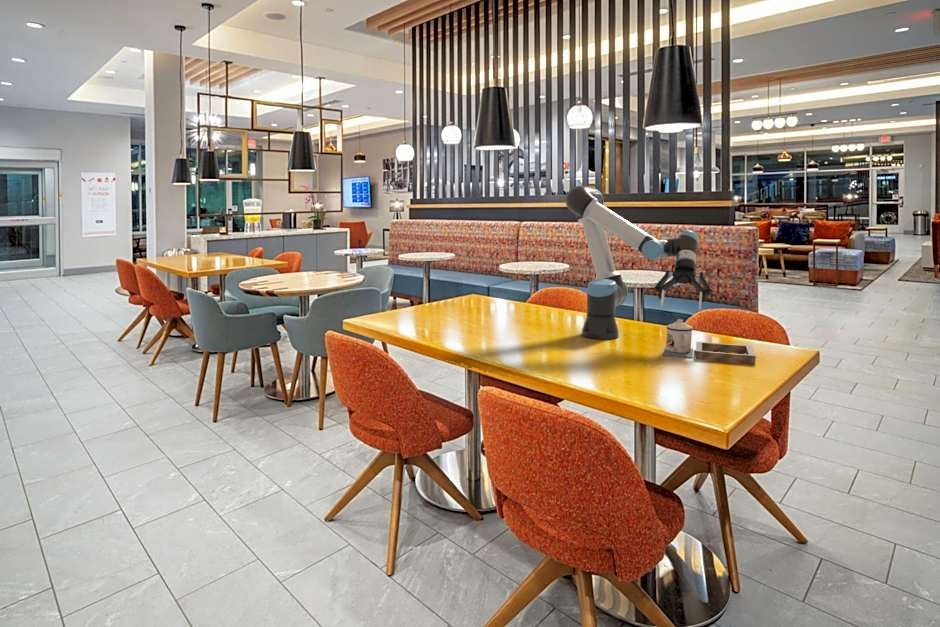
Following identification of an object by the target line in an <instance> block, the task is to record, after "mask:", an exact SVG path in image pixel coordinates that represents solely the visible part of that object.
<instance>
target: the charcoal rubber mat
mask: <svg viewBox="0 0 940 627" xmlns="http://www.w3.org/2000/svg"><path fill="white" fill-rule="evenodd" d="M693 352H694V348H692V347H691V351H690V352H688V353H675V352H670V351H667V350H666V345H665V347H664V349H663V352H662V357H669V358H671V357H673V358H682V359H683V358H685V359H693V357H694V356H693V355H694V353H693Z"/></svg>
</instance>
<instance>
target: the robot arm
mask: <svg viewBox="0 0 940 627" xmlns="http://www.w3.org/2000/svg"><path fill="white" fill-rule="evenodd" d="M565 205H566V207H567V209H568V210H569V211H570V212H572V213H573V214H575V215H576V219H577V222H579V223H580V224H582V228H583V231H584V235H585V238H586V242H587V246H588V250H589V254H590V257H591V261H592V264H593V268H594V271H595V275H596V276H595V278H594V280H591V281H589V282H588V284H587V289H586V292H587V293H586V294H587V295H586V297H587V298H586V318H585V321H584V324H583V326H582V329H581V336H582V337H584V338H589V339H594V340H612V339H617V338H619V333H620V332H619V328H618V325H617V322H616V308H617V307H618V308H619V307H620V306H621V305H623V304H624V303H625V302H626V300H627V298H628V297H629V289H628V286H627V285H626V283H625V282H624V281H623V277H622V275H621V273H620V272H618V271H617V269H616V266H615V262H614V259H613V254H612V252H611V248H610V247H611V246H610V244H609V240H608V236H607V233H606V231H607V232H608V233H610V234H612V235H613V236H615V237H616V238H618V239H620V240H621V241H622V242H624V243H626V245H628V246H630V247H632V248H634V249H635V250H637V251H638V252H639V253H641V254H642V255H643V257H644V258H645V259H647V260H652V261H655V260H659V259H663V258H673V257H675V265H674V270H673V272H670V271H669V270H666V271H665V274H664V275H663V276H662V277H661V278H660V280H659V281H658V282H657V283H656V285H655V286H654V291H655V292H656V293H658V300H660V308H663V307H664V301H665V292H666V291H667V290H668V289H670V288H671V287H673V286H675V285H677V284H680V285H681V284H685V285H687V284H689V285H690V286H692V287H693V288H694V289H695V290H696V291H697V292H698V293H699V301H698V311H701V310H702V303H705V301H706V296H711V293H712V289H711V288H710V286H709V284H708V283H707V282H708V281H706V279H705V277H704V272H703V271H700V272H699V273H696V264H697V252H698V245H699V242H698V240H699V239H698V238H699V236H698V234H697V233H696V232H694V231H692V230H684V231H682V232H680V233H679V235H678V236H677V237H673V238H663V239H662V238H661V239H657V238H655V237H654V236H652V235H650V233H647V232H645V231H644V230H642V229H641V228H639V227H638V226H636V225H635V224H633V223H632V222H630V221H628V220H627V219H624V218H623V217H622V216H621V215H618V214H617V213H616V212H614V211H612V210H611V209H609V208H608V207H606V206H605V205H604V197H603V195H602V193H601V191H600V190H598V189H597V188H595V187H593V186H583V185H576V186H574V187H573V186H572V187H571V188H570V189H569V190H568V192H567V193H566V195H565ZM671 277H672V278H671ZM670 278H671V279H670ZM696 278H697V280H699V282H698V281H697V280H696ZM668 279H670V280H668Z"/></svg>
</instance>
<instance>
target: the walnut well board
mask: <svg viewBox="0 0 940 627" xmlns="http://www.w3.org/2000/svg"><path fill="white" fill-rule="evenodd" d="M713 351H720V352H713ZM726 352H734V353H726ZM738 353H746V354H738ZM694 357H695V359H694V360H697V361H709V362H722V363H732V364H743V365H753V366H754V365H756V361H757V360H756V357H757V356H756V352H755V350H754V348H753V345H747V344H734V343H719V342H707V341H705V342H704V341H696V343H695V356H694Z"/></svg>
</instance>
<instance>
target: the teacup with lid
mask: <svg viewBox="0 0 940 627" xmlns="http://www.w3.org/2000/svg"><path fill="white" fill-rule="evenodd" d="M683 321H684V320H683V319H677V320H676V321H674V322H673V323H670V324H668V325H667V326H666V342H665V346H666V350H667V351H670V352H675V353H688V352H690V351H691V348H692V347H691V346H692V336H693V335H692V333H693V327H692V326H691V325H688V324H687V323H685V322H683Z"/></svg>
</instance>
